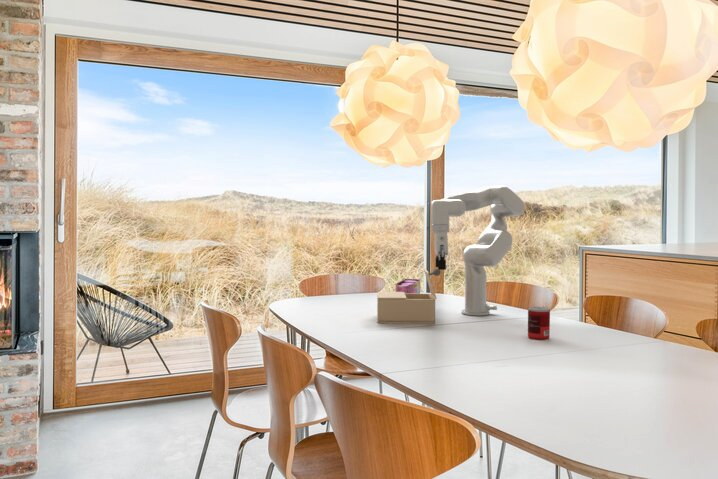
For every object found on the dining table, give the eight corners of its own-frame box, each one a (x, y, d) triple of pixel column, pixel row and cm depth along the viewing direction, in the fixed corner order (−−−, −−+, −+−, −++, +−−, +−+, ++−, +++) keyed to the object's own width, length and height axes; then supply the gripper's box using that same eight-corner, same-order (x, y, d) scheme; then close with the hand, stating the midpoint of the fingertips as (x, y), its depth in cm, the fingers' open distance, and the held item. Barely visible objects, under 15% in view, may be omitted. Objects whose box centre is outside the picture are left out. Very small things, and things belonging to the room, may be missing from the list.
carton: (430, 315, 255) (431, 292, 254) (435, 323, 237) (435, 297, 236) (377, 315, 255) (377, 291, 255) (377, 323, 237) (377, 297, 237)
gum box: (410, 314, 258) (411, 284, 258) (393, 313, 260) (394, 284, 260) (420, 306, 281) (420, 279, 280) (404, 305, 283) (405, 278, 283)
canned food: (548, 336, 212) (549, 307, 211) (550, 340, 204) (550, 310, 203) (527, 335, 214) (527, 306, 213) (527, 339, 206) (528, 309, 206)
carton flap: (431, 293, 254) (444, 289, 254) (435, 299, 237) (449, 294, 236) (423, 268, 253) (436, 264, 253) (427, 272, 236) (441, 268, 236)
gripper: (451, 229, 235) (452, 270, 236) (446, 227, 253) (446, 266, 253) (433, 229, 235) (434, 270, 236) (429, 228, 253) (430, 266, 254)
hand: (440, 268), depth 245 cm, fingers open, 9 cm apart
